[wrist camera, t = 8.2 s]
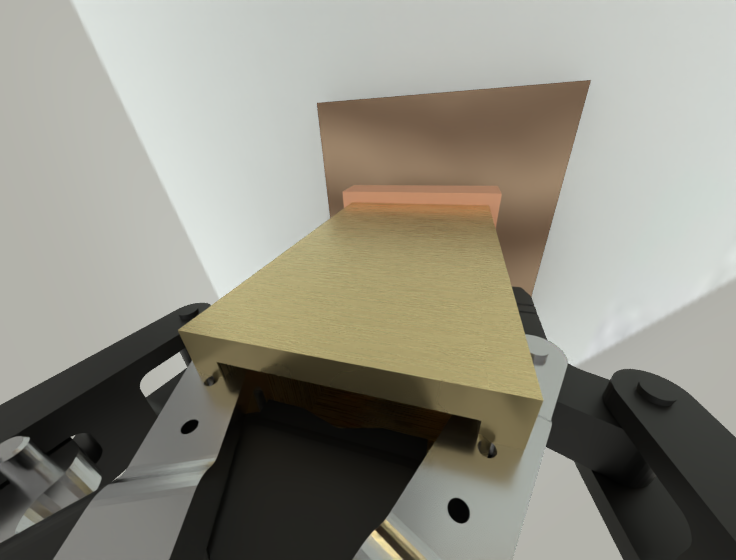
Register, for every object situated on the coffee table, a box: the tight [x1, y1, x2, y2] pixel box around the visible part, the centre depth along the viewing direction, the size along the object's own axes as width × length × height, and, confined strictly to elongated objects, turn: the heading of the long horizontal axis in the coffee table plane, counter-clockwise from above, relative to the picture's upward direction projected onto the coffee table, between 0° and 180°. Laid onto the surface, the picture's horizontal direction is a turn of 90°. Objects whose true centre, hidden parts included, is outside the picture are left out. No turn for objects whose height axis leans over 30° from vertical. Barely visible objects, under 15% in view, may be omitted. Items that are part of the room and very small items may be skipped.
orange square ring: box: [342, 185, 502, 229], centre depth 14 cm, size 6×6×2 cm
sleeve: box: [178, 202, 544, 458], centre depth 9 cm, size 6×6×9 cm
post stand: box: [317, 80, 591, 296], centre depth 13 cm, size 14×14×14 cm
